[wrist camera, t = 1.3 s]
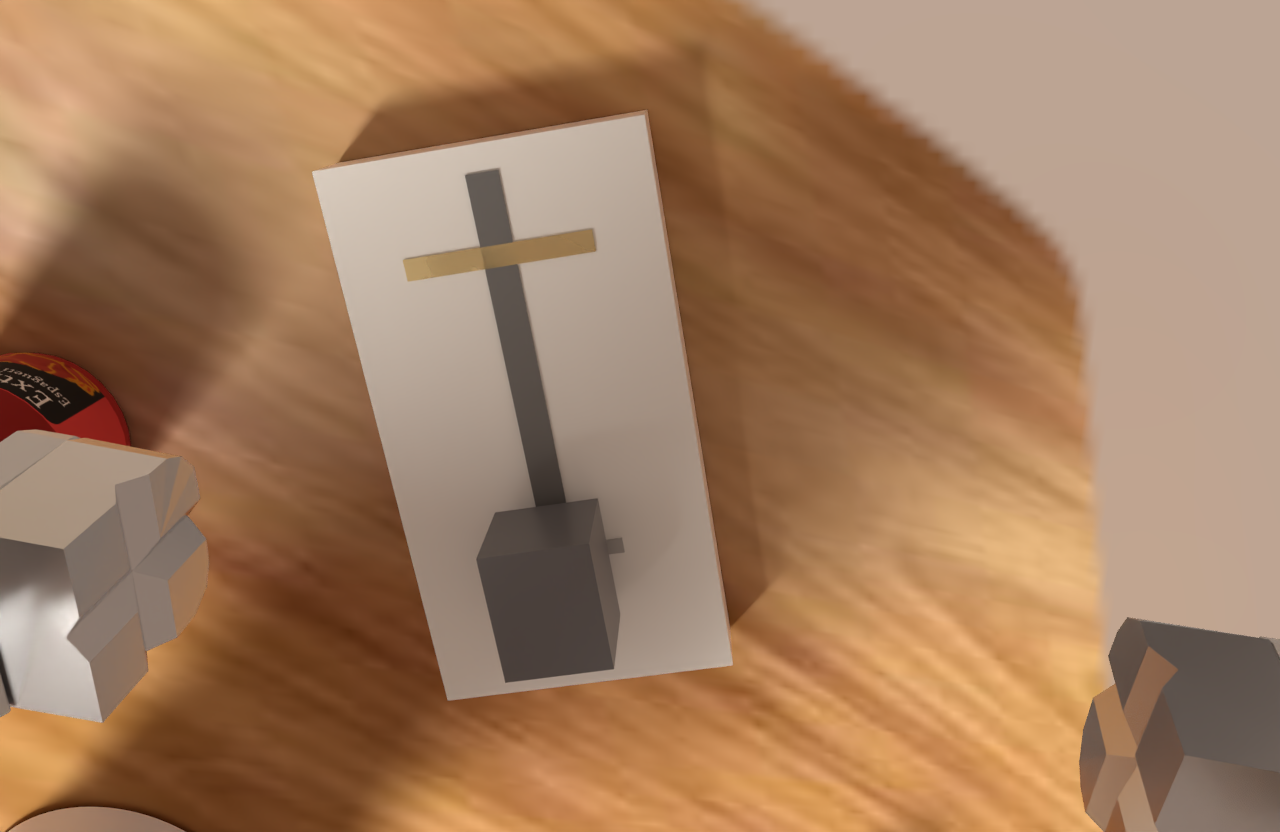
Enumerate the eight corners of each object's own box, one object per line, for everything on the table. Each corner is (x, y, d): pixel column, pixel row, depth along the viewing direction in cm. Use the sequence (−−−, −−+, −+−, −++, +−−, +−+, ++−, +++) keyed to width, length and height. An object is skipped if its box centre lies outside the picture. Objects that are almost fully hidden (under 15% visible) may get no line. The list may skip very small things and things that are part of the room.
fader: (621, 606, 44) (614, 669, 39) (523, 619, 44) (505, 682, 40) (599, 492, 42) (588, 543, 38) (497, 506, 43) (475, 559, 38)
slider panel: (730, 628, 48) (733, 666, 45) (461, 662, 49) (447, 702, 46) (647, 109, 41) (644, 114, 38) (337, 162, 42) (311, 171, 39)
